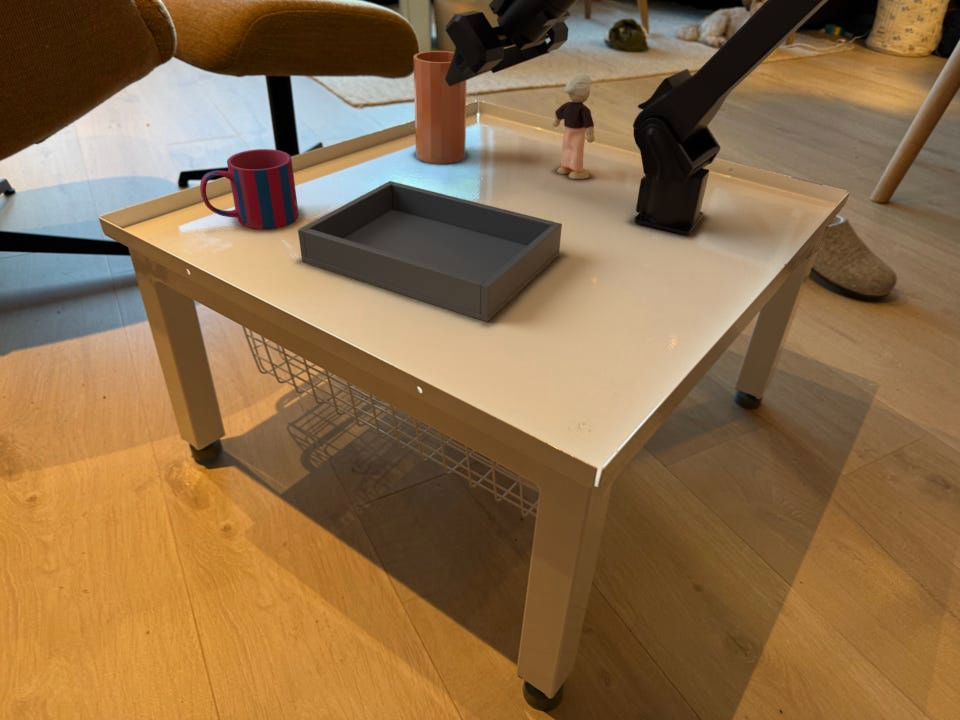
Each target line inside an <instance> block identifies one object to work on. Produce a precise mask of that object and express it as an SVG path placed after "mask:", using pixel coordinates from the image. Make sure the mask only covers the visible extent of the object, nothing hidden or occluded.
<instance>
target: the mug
mask: <svg viewBox="0 0 960 720" xmlns="http://www.w3.org/2000/svg"><path fill="white" fill-rule="evenodd" d="M226 163H227V170H211V171H208V172H206V173H205V174H203V176H202V177H201V180H200V184H199V190H200V195H201V199H202V201H203V203H204V205H205V207H206V208H207V209H208V210H210V211H211V212H213V213H215V214H216V215H219V216H221V217H226V218H236V220H237V222H238V223H239V224H240V225H241V226H242V227H244V228H246V229H250V230H256V231H271V230H277V229H282V228H286V227H288V226H290V225H292V224H294V223H295V222H296V221H297V220H298V219H299V216H300V214H299V205H298V197H297V190H296V182H295V176H294V175H295V174H294V169H293V160H292V156H291V154H289V153H288V152H285V151H283V150H279V149H271V148H259V149H258V148H257V149H249V150H244V151H240V152H237V153H234V154H232V155H231V156H229V158H228V159H227V160H226ZM214 177H223V178H226V179H227V180H229V182H230V188H231V193H232V198H233V205H234V209H232V210H224V209H220V208H218V207H216V206H215V207H214V206H213V204H211V202H210V201H209V199H208V195H207V185H208V182H209V181H210V180H211V179H213V178H214Z"/></svg>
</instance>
